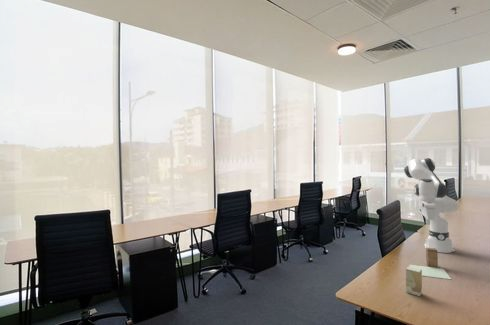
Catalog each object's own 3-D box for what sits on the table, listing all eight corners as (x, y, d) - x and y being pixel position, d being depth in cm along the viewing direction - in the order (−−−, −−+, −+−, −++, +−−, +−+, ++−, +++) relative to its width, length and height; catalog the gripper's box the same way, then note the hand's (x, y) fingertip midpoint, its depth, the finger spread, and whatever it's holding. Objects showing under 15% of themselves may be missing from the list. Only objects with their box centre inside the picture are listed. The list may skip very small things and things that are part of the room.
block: (426, 264, 169) (425, 247, 169) (435, 265, 167) (435, 248, 167) (428, 267, 164) (427, 249, 164) (437, 268, 162) (437, 250, 162)
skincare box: (405, 292, 133) (405, 268, 133) (408, 289, 136) (407, 266, 136) (420, 296, 128) (419, 271, 128) (422, 293, 131) (421, 269, 131)
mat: (409, 265, 168) (409, 264, 168) (443, 269, 161) (443, 268, 161) (413, 274, 153) (413, 274, 153) (451, 279, 146) (451, 279, 146)
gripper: (418, 201, 184) (418, 220, 184) (425, 205, 165) (425, 227, 165) (429, 201, 181) (429, 221, 181) (437, 205, 163) (437, 227, 163)
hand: (427, 224), depth 173 cm, fingers closed
